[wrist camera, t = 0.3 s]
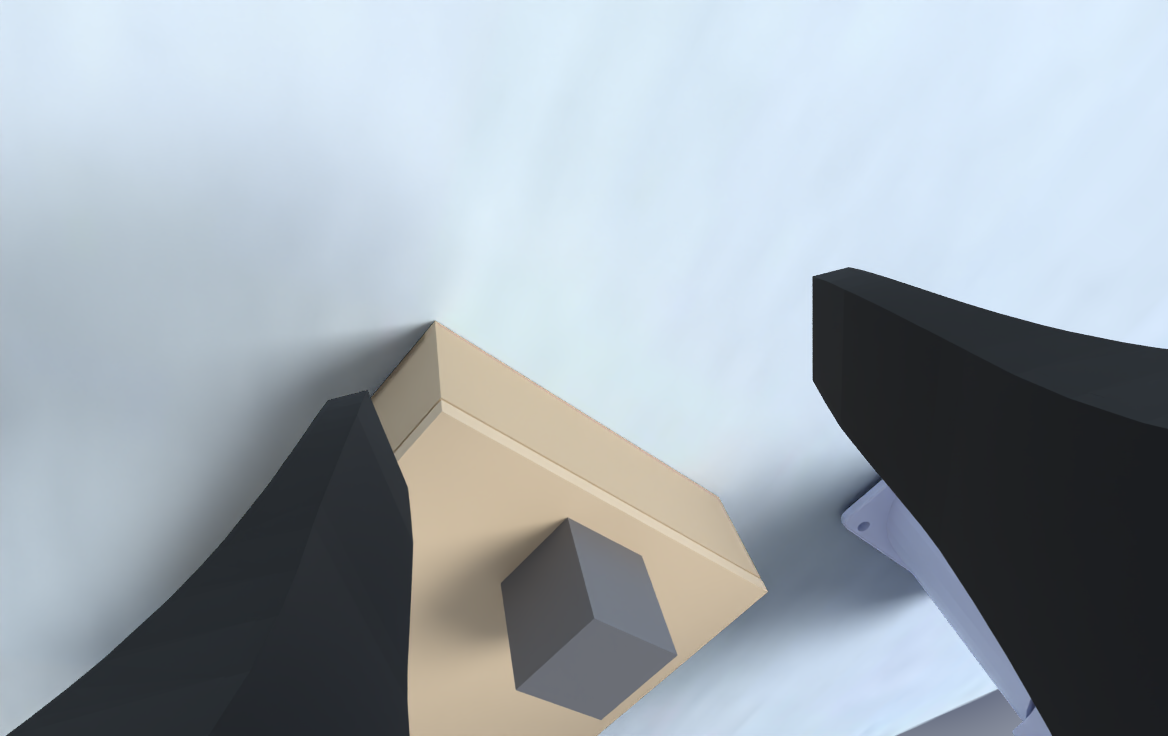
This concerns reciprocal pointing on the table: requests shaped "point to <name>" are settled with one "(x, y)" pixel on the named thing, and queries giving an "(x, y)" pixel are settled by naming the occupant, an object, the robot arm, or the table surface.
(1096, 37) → the table surface
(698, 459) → the table surface
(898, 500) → the robot arm
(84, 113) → the table surface
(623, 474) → the carton
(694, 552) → the sliding lid
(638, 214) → the table surface
